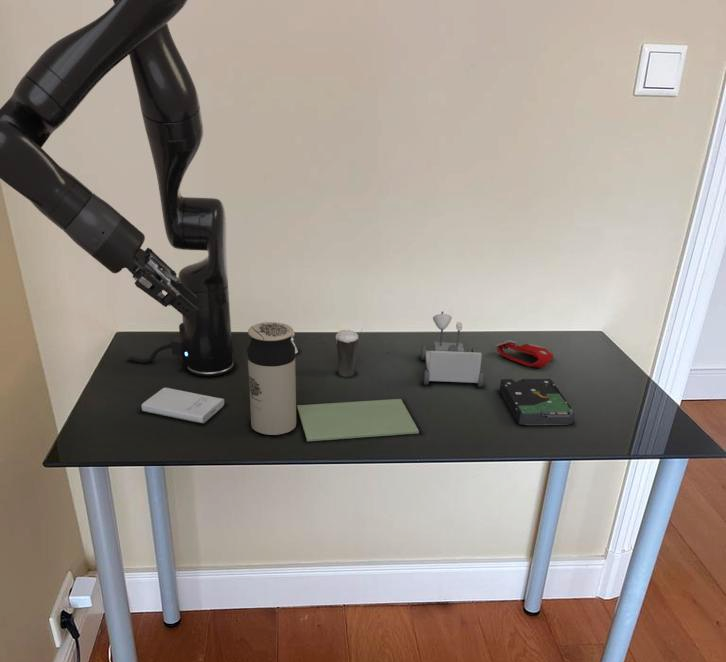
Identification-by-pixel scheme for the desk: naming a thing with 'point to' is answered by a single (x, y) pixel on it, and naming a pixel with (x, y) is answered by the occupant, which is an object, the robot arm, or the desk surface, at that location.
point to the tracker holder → (530, 349)
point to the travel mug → (272, 378)
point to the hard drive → (183, 405)
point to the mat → (355, 420)
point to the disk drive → (536, 402)
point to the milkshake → (346, 352)
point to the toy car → (451, 359)
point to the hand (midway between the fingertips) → (193, 308)
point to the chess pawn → (293, 342)
